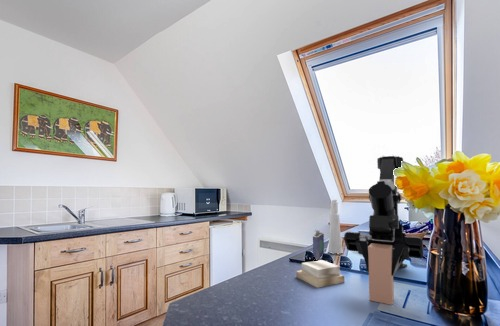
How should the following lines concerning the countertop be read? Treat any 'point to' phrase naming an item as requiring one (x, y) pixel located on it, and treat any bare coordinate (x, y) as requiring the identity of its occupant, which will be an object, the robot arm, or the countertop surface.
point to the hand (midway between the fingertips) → (380, 273)
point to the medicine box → (365, 233)
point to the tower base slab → (321, 281)
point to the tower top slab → (320, 269)
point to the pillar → (380, 273)
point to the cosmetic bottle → (335, 230)
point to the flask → (318, 244)
